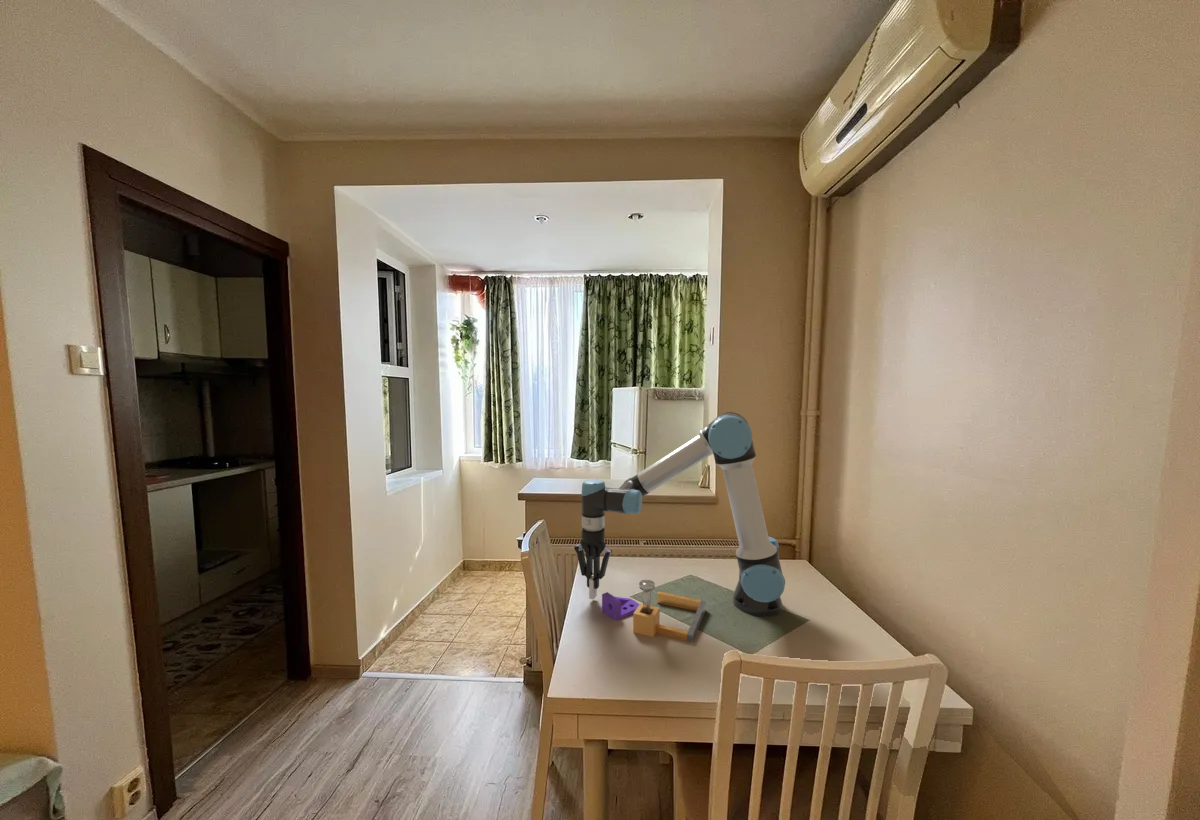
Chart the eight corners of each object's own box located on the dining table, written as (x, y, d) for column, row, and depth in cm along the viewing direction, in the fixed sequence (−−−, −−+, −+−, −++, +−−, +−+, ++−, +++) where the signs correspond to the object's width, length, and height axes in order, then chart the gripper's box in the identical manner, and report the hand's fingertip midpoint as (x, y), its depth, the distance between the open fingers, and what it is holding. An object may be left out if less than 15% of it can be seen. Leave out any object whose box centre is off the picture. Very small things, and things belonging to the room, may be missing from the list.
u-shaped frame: (705, 611, 138) (706, 601, 138) (692, 647, 120) (692, 635, 120) (658, 601, 145) (658, 591, 144) (638, 634, 126) (638, 622, 126)
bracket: (616, 625, 132) (616, 603, 131) (602, 615, 137) (602, 594, 136) (645, 612, 139) (645, 591, 138) (630, 603, 144) (630, 583, 144)
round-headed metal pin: (656, 611, 127) (656, 581, 126) (651, 619, 123) (652, 588, 122) (641, 608, 129) (642, 578, 128) (636, 616, 125) (637, 585, 124)
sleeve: (659, 630, 128) (659, 607, 127) (653, 642, 123) (653, 618, 122) (639, 625, 130) (640, 603, 130) (633, 636, 125) (633, 613, 124)
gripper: (570, 528, 142) (570, 598, 144) (606, 534, 136) (606, 606, 138) (580, 521, 148) (580, 588, 150) (615, 526, 143) (615, 595, 145)
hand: (593, 596), depth 144 cm, fingers closed
